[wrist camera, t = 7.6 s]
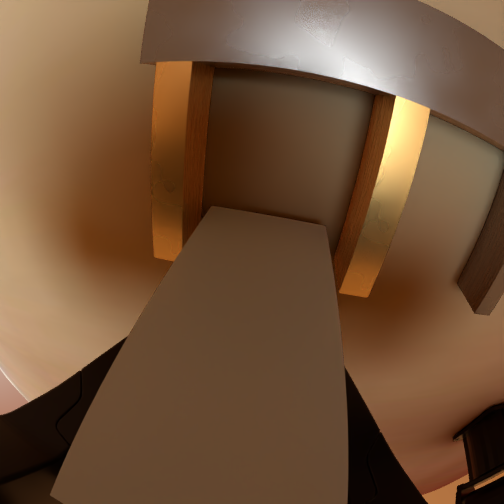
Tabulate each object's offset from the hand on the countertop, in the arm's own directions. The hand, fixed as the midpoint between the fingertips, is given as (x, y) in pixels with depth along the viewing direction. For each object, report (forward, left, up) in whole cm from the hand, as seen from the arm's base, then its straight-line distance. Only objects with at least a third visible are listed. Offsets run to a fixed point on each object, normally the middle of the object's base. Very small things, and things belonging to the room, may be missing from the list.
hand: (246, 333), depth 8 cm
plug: (0, 0, -3) cm, 3 cm away
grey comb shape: (+5, -6, -3) cm, 9 cm away
